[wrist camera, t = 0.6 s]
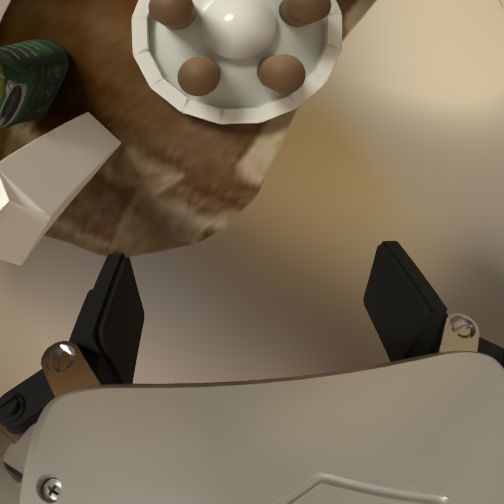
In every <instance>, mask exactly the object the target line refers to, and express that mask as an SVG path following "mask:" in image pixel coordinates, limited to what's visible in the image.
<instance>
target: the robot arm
mask: <svg viewBox="0 0 504 504" xmlns="http://www.w3.org/2000/svg"><path fill="white" fill-rule="evenodd" d="M364 306H365V308H366V310H367V311H368V314H369V316H370V318H371V320H372V322H373V324H374V327H375V329H376V331H377V333H378V335H379V337H380V339H381V341H382V344H383V346H384V348H385V350H386V352H387V354H388V357H389V359H390V361H391V362H387V363H382V364H376V365H371V366H365V367H359V368H353V369H346V370H340V371H333V372H326V373H319V374H310V375H302V376H293V377H284V378H273V379H262V380H248V381H235V382H213V383H175V384H132V383H133V377H134V371H135V365H136V359H137V354H138V348H139V343H140V338H141V333H142V327H143V323H144V310H143V306H142V303H141V299H140V296H139V292H138V288H137V285H136V281H135V277H134V274H133V270H132V266H131V261H130V258H129V257H125V255H124V254H123V253H121V254H109V255H108V256H107V258H106V261H105V263H104V265H103V267H102V269H101V272H100V274H99V276H98V279H97V281H96V283H95V286H94V288H93V289H92V290H90V291H89V292H88V294H87V296H86V299H85V301H84V303H83V306H82V308H81V311H80V313H79V316H78V318H77V321H76V324H75V326H74V329H73V332H72V334H71V337H70V340H69V341H61V342H57V343H55V344H53V345H51V346H50V347H48V348H47V350H46V351H45V352H44V354H43V356H42V359H41V366H42V369H41V370H40V371H38V372H37V373H35V374H34V375H32V376H31V377H29V378H28V379H26V380H25V381H23V382H22V383H20V384H19V385H17V386H16V387H14V388H13V389H11V390H10V391H8V392H7V393H5V394H4V395H3V396H2V397H1V398H0V504H504V348H501V347H499V346H497V345H495V344H493V343H491V342H489V341H487V340H484V339H482V338H480V337H479V329H478V326H477V324H476V323H475V322H474V320H472V319H471V318H470V317H468V316H466V315H464V314H461V313H453V314H451V315H449V316H448V315H447V313H446V311H447V308H446V306H445V305H444V304H443V302H442V301H441V299H440V298H439V296H438V295H437V293H436V292H435V291H434V289H433V288H432V286H431V285H430V284H429V282H428V281H427V280H426V278H425V277H424V276H423V274H422V273H421V271H420V270H419V269H418V267H417V266H416V265H415V263H414V262H413V261H412V260H411V258H410V257H409V256H408V254H407V253H406V252H405V251H404V249H403V248H402V247H401V245H400V244H399V243H398V242H397V241H384V242H382V243H381V245H379V246H378V247H377V250H376V254H375V258H374V262H373V266H372V269H371V273H370V277H369V281H368V284H367V288H366V291H365V295H364Z"/></svg>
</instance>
